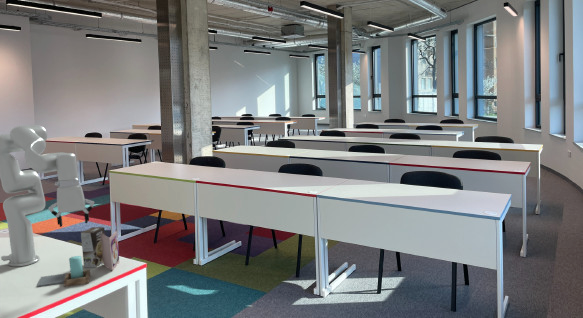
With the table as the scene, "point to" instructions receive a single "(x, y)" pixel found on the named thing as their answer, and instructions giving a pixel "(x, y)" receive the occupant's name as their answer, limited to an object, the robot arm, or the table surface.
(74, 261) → the peg
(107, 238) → the greeting card
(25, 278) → the table surface
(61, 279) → the mat
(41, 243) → the table surface
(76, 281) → the pocket
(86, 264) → the coffee box
